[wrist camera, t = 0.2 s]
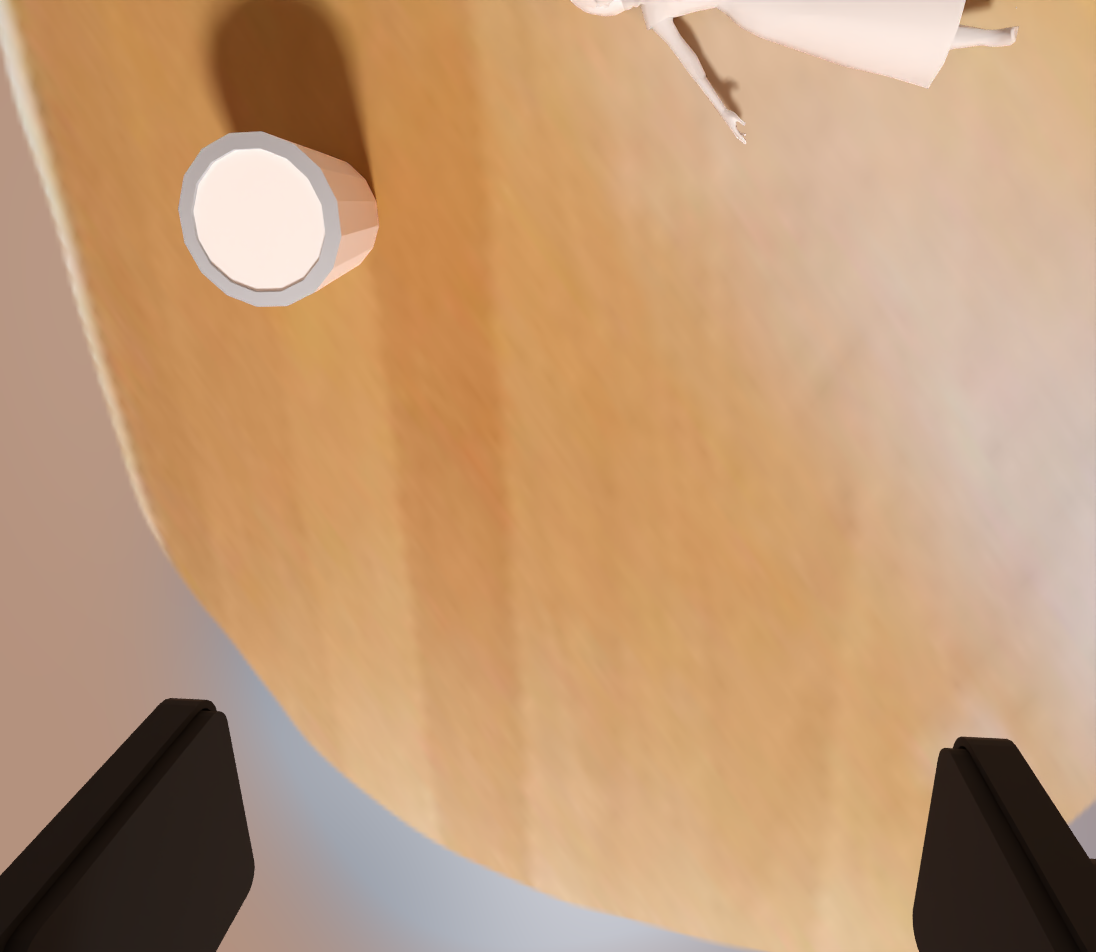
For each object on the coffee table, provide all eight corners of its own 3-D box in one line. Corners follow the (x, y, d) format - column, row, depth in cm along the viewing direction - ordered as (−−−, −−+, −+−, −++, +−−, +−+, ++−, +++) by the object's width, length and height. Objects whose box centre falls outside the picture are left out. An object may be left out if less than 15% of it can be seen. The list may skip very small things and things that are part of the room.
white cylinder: (255, 128, 38) (175, 117, 32) (397, 151, 38) (345, 144, 31) (252, 275, 41) (177, 293, 34) (385, 298, 40) (335, 321, 34)
